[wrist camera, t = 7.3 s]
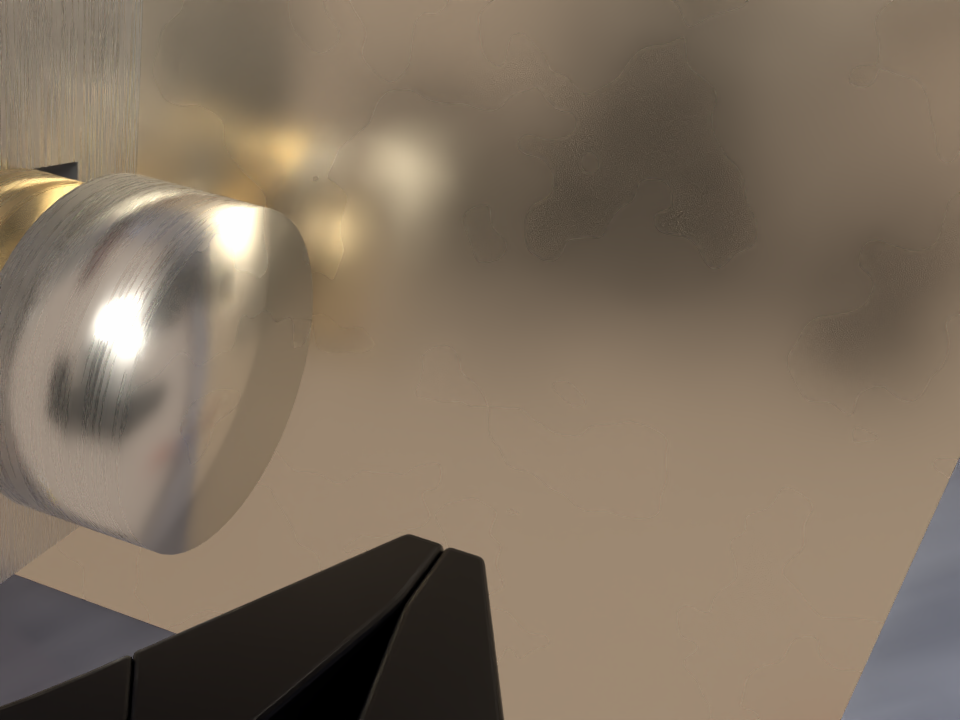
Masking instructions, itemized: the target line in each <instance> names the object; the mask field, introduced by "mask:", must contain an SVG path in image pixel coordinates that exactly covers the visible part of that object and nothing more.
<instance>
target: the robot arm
mask: <svg viewBox="0 0 960 720" xmlns="http://www.w3.org/2000/svg"><path fill="white" fill-rule="evenodd" d="M0 720H504V714H503V706H502V698H501V689H500V681H499V673H498V665H497V657H496V648H495V640H494V632H493V624H492V616H491V608H490V599H489V591H488V583H487V575H486V567H485V562H484V560H483V559H482V558H481V557H480V556H477V555H473V554H470V553H467V552H464V551H461V550H458V549H455V548H446V549H445V550H444V549H443V546H442V545H441V544H439V543H436V542H433V541H430V540H427V539H424V538H421V537H418V536H415V535H412V534H406V535H402V536H400V537H398V538H395V539H393V540H391V541H389V542H386V543H384V544H382V545H379V546H377V547H375V548H372V549H370V550H368V551H366V552H363V553H361V554H359V555H356V556H354V557H352V558H350V559H347V560H345V561H343V562H340V563H338V564H336V565H333V566H331V567H329V568H327V569H324V570H322V571H320V572H317V573H315V574H313V575H311V576H308V577H306V578H304V579H301V580H299V581H297V582H295V583H292V584H290V585H288V586H285V587H283V588H281V589H278V590H276V591H274V592H272V593H269V594H267V595H265V596H262V597H260V598H258V599H256V600H253V601H251V602H249V603H246V604H244V605H242V606H239V607H237V608H235V609H233V610H230V611H228V612H226V613H223V614H221V615H219V616H217V617H214V618H212V619H210V620H207V621H205V622H203V623H201V624H198V625H196V626H194V627H191V628H189V629H187V630H184V631H182V632H180V633H178V634H175V635H173V636H171V637H168V638H166V639H164V640H162V641H159V642H157V643H155V644H152V645H150V646H148V647H145V648H143V649H141V650H139V651H137V652H135V653H134V656H133V659H132V657H131V656H124V657H122V658H120V659H117V660H115V661H113V662H110V663H108V664H106V665H103V666H101V667H99V668H97V669H94V670H92V671H90V672H87V673H85V674H82V675H80V676H77V677H75V678H73V679H70V680H68V681H65V682H63V683H60V684H58V685H55V686H53V687H51V688H48V689H46V690H43V691H41V692H38V693H36V694H33V695H31V696H29V697H26V698H23V699H20V700H18V701H15V702H12V703H9V704H6V705H4V706H1V707H0Z"/></svg>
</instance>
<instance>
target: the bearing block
mask: <svg viewBox="0 0 960 720" xmlns="http://www.w3.org/2000/svg"><path fill="white" fill-rule="evenodd" d="M9 168H28V169H36V170H40V171H43V172H47V173H51V174H55V175H58V176H62V177H66V178H70V179H73V180H77V181H81V182H87V181H89V180H91V179H93V178H97V177H100V176H104V175H107V174H113V173H124V172H125V173H134V174H140V175H144V176H148V177H152V178H156V179H159V180H163V181H167V182H171V183H175V184H179V185H182V186H186V187H190V188H194V189H198V190H202V191H205V192H209V193H213V194H217V195H221V196H225V197H228V198H232V199H236V200H240V201H244V202H248V203H251V204H255V205H259V206H263V207H267V208H271V209H273V210H276V211H279V212H281V213H283V214H284V215H285V216H287V217H288V218H289V219H290V220H291V221H292V222H293V223H294V225H295V226H296V227H297V229H298V231H299V232H300V234H301V236H302V238H303V241H304V243H305V246H306V249H307V252H308V257H309V261H310V266H311V274H312V286H313V310H312V323H311V333H310V340H309V346H308V352H307V357H306V362H305V367H304V371H303V375H302V378H301V382H300V386H299V389H298V393H297V396H296V399H295V402H294V405H293V408H292V411H291V414H290V417H289V419H288V422H287V425H286V427H285V429H284V432H283V434H282V436H281V439H280V441H279V443H278V445H277V447H276V450H275V452H274V454H273V456H272V458H271V460H270V462H269V463H268V465H267V467H266V469H265V471H264V473H263V474H262V476H261V478H260V479H259V481H258V483H257V484H256V486H255V487H254V489H253V491H252V492H251V493H250V495H249V496H248V498H247V499H246V500H245V502H244V503H243V505H242V506H241V507H240V508H239V510H238V511H237V512H236V513H235V514H234V516H233V517H232V518H231V519H230V520H229V521H228V522H227V523H226V524H225V525H224V526H223V527H222V528H221V529H220V530H219V531H218V532H217V533H216V534H214V535H213V536H212V537H211V538H210V539H208V540H207V541H205V542H204V543H202V544H201V545H199V546H198V547H196V548H193V549H191V550H189V551H187V552H184V553H179V554H175V555H165V554H159V553H156V552H154V551H151V550H148V549H145V548H142V547H139V546H136V545H134V544H131V543H128V542H125V541H122V540H119V539H116V538H114V537H111V536H108V535H105V534H102V533H99V532H96V531H93V530H91V529H88V528H85V527H82V526H79V525H76V524H73V523H71V522H68V521H65V520H62V519H59V518H56V517H53V516H51V515H48V514H45V513H42V512H39V511H36V510H33V509H31V508H28V507H25V506H22V505H19V504H16V503H15V502H13V501H11V500H10V499H8V498H7V497H5V496H4V495H2V494H1V493H0V584H1V583H2V582H4V581H5V580H7V579H8V578H9V577H11V576H12V575H13V574H16V575H18V576H21V577H24V578H27V579H29V580H32V581H35V582H37V583H40V584H43V585H46V586H48V587H51V588H54V589H57V590H59V591H62V592H65V593H67V594H70V595H73V596H76V597H78V598H81V599H84V600H87V601H89V602H92V603H95V604H97V605H100V606H103V607H106V608H108V609H111V610H114V611H117V612H119V613H122V614H125V615H127V616H130V617H133V618H136V619H138V620H141V621H144V622H147V623H149V624H152V625H155V626H157V627H160V628H163V629H166V630H168V631H171V632H174V633H176V634H178V633H180V632H182V631H184V630H187V629H189V628H191V627H194V626H196V625H198V624H201V623H203V622H205V621H207V620H210V619H212V618H214V617H217V616H219V615H221V614H223V613H226V612H228V611H230V610H233V609H235V608H237V607H239V606H242V605H244V604H246V603H249V602H251V601H253V600H256V599H258V598H260V597H262V596H265V595H267V594H269V593H272V592H274V591H276V590H278V589H281V588H283V587H285V586H288V585H290V584H292V583H295V582H297V581H299V580H301V579H304V578H306V577H308V576H311V575H313V574H315V573H317V572H320V571H322V570H324V569H327V568H329V567H331V566H333V565H336V564H338V563H340V562H343V561H345V560H347V559H350V558H352V557H354V556H356V555H359V554H361V553H363V552H366V551H368V550H370V549H372V548H375V547H377V546H379V545H382V544H384V543H386V542H389V541H391V540H393V539H395V538H398V537H400V536H402V535H406V534H412V535H415V536H418V537H421V538H424V539H427V540H430V541H433V542H436V543H439V544H441V545H442V546H443V549H444V550H445V549H446V548H455V549H458V550H461V551H464V552H467V553H470V554H473V555H477V556H480V557H481V558H482V559H483V560H484V562H485V567H486V575H487V583H488V591H489V599H490V608H491V616H492V624H493V632H494V640H495V648H496V657H497V665H498V673H499V681H500V689H501V698H502V706H503V714H504V720H841V718H842V716H843V713H844V711H845V709H846V707H847V705H848V702H849V700H850V698H851V696H852V693H853V691H854V689H855V687H856V685H857V682H858V680H859V678H860V676H861V674H862V671H863V669H864V667H865V665H866V663H867V660H868V658H869V656H870V654H871V651H872V649H873V647H874V645H875V643H876V640H877V638H878V636H879V634H880V632H881V629H882V627H883V625H884V623H885V620H886V618H887V616H888V614H889V612H890V609H891V607H892V605H893V603H894V601H895V598H896V596H897V594H898V592H899V590H900V587H901V585H902V583H903V581H904V578H905V576H906V574H907V572H908V570H909V567H910V565H911V563H912V561H913V559H914V556H915V554H916V552H917V550H918V547H919V545H920V543H921V541H922V539H923V536H924V534H925V532H926V530H927V528H928V525H929V523H930V521H931V519H932V517H933V514H934V512H935V510H936V508H937V505H938V503H939V501H940V499H941V497H942V494H943V492H944V490H945V488H946V486H947V483H948V481H949V479H950V477H951V474H952V472H953V470H954V468H955V466H956V463H957V461H958V459H959V457H960V0H0V170H2V169H9Z"/></svg>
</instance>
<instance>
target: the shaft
mask: <svg viewBox="0 0 960 720" xmlns="http://www.w3.org/2000/svg"><path fill="white" fill-rule="evenodd" d="M312 310H313V286H312V274H311V266H310V261H309V257H308V252H307V249H306V246H305V243H304V241H303V238H302V236H301V234H300V232H299V231H298V229H297V227H296V226H295V225H294V223H293V222H292V221H291V220H290V219H289V218H288V217H287V216H285V215H284V214H283V213H281V212H279V211H276V210H273V209H271V208H267V207H263V206H259V205H255V204H251V203H248V202H244V201H240V200H236V199H232V198H228V197H225V196H221V195H217V194H213V193H209V192H205V191H202V190H198V189H194V188H190V187H186V186H182V185H179V184H175V183H171V182H167V181H163V180H159V179H156V178H152V177H148V176H144V175H140V174H134V173H125V172H124V173H113V174H107V175H104V176H100V177H97V178H93V179H91V180H89V181H87V182H81V181H77V180H73V179H70V178H66V177H62V176H58V175H55V174H51V173H47V172H43V171H40V170H36V169H28V168H9V169H2V170H0V493H1V494H2V495H4V496H5V497H7V498H8V499H10V500H11V501H13V502H15V503H16V504H19V505H22V506H25V507H28V508H31V509H33V510H36V511H39V512H42V513H45V514H48V515H51V516H53V517H56V518H59V519H62V520H65V521H68V522H71V523H73V524H76V525H79V526H82V527H85V528H88V529H91V530H93V531H96V532H99V533H102V534H105V535H108V536H111V537H114V538H116V539H119V540H122V541H125V542H128V543H131V544H134V545H136V546H139V547H142V548H145V549H148V550H151V551H154V552H156V553H159V554H165V555H175V554H179V553H184V552H187V551H189V550H191V549H193V548H196V547H198V546H199V545H201V544H202V543H204V542H205V541H207V540H208V539H210V538H211V537H212V536H213V535H214V534H216V533H217V532H218V531H219V530H220V529H221V528H222V527H223V526H224V525H225V524H226V523H227V522H228V521H229V520H230V519H231V518H232V517H233V516H234V514H235V513H236V512H237V511H238V510H239V508H240V507H241V506H242V505H243V503H244V502H245V500H246V499H247V498H248V496H249V495H250V493H251V492H252V491H253V489H254V487H255V486H256V484H257V483H258V481H259V479H260V478H261V476H262V474H263V473H264V471H265V469H266V467H267V465H268V463H269V462H270V460H271V458H272V456H273V454H274V452H275V450H276V447H277V445H278V443H279V441H280V439H281V436H282V434H283V432H284V429H285V427H286V425H287V422H288V419H289V417H290V414H291V411H292V408H293V405H294V402H295V399H296V396H297V393H298V389H299V386H300V382H301V378H302V375H303V371H304V367H305V362H306V357H307V352H308V346H309V340H310V333H311V323H312Z"/></svg>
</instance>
